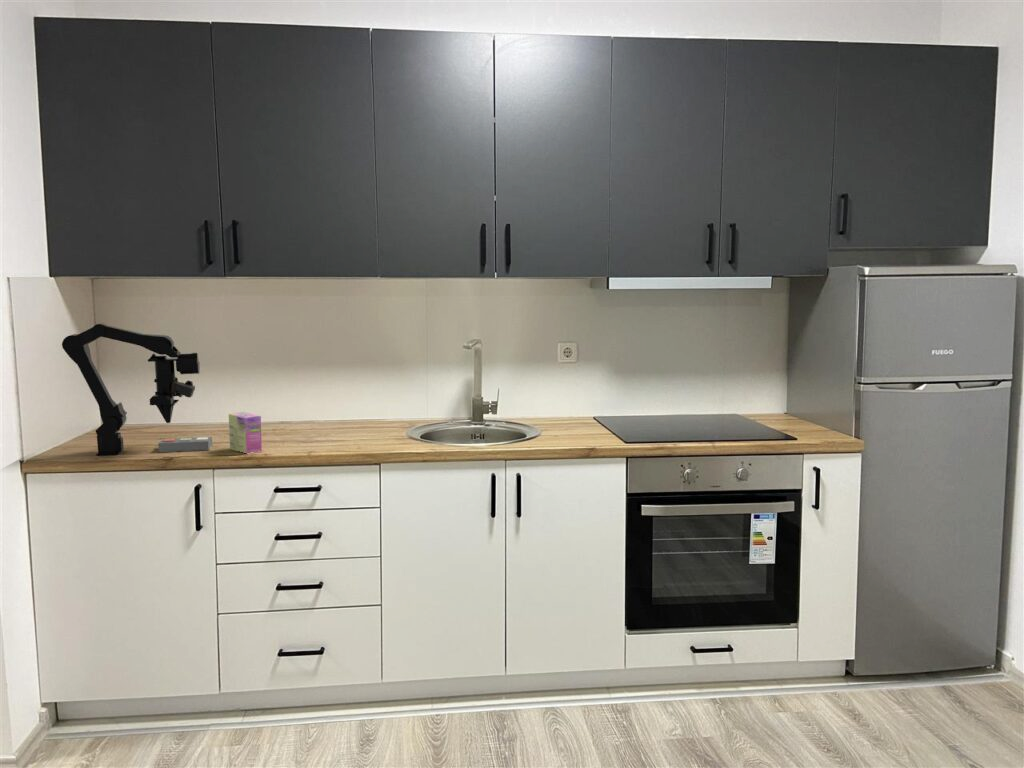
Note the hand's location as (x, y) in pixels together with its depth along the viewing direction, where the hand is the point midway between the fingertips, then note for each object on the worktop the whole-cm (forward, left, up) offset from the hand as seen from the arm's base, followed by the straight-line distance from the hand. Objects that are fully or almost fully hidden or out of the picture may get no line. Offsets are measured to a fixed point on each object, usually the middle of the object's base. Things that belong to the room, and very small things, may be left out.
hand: (168, 422), depth 254 cm
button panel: (+5, 0, -9) cm, 10 cm away
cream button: (+10, 0, -7) cm, 12 cm away
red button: (0, 0, -8) cm, 8 cm away
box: (+24, -7, -9) cm, 27 cm away
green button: (+5, 0, -8) cm, 9 cm away
